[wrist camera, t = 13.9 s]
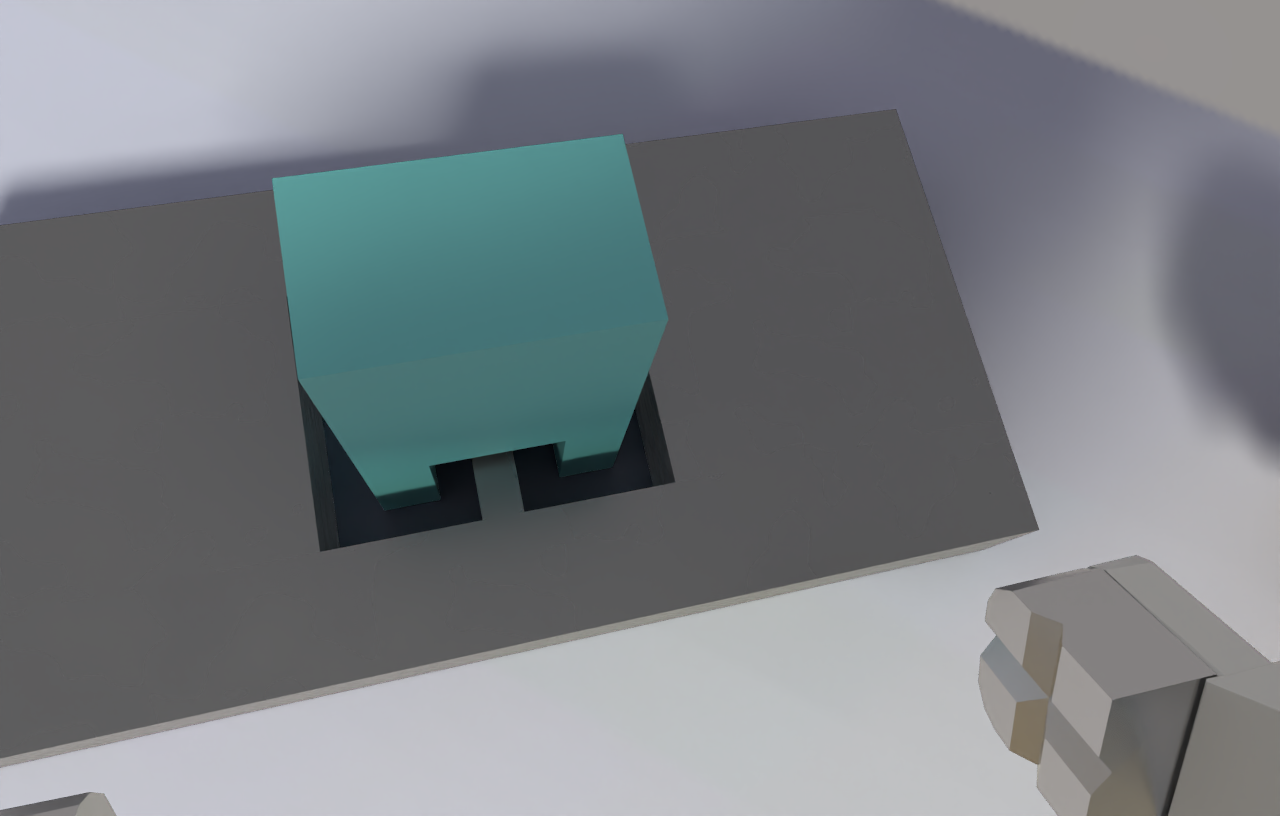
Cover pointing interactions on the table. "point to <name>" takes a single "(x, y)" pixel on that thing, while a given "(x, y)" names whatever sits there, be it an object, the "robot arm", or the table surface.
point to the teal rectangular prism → (472, 307)
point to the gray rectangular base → (506, 536)
